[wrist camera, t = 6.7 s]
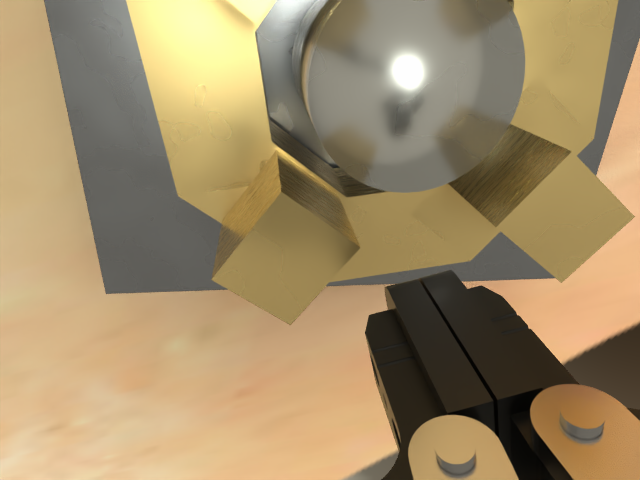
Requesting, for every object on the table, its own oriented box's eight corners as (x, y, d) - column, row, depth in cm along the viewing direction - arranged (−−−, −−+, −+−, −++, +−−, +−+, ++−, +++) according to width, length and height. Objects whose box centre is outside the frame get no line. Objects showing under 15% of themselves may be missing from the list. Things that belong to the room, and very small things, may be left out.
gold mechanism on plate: (116, 274, 20) (42, 408, 13) (-4, -341, 12) (-362, -820, 5) (545, 261, 22) (667, 369, 15) (695, -256, 14) (1093, -502, 7)
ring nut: (111, -168, 12) (-43, -353, 6) (581, -211, 13) (871, -414, 7) (214, 257, 18) (189, 383, 12) (530, 211, 19) (659, 307, 13)
